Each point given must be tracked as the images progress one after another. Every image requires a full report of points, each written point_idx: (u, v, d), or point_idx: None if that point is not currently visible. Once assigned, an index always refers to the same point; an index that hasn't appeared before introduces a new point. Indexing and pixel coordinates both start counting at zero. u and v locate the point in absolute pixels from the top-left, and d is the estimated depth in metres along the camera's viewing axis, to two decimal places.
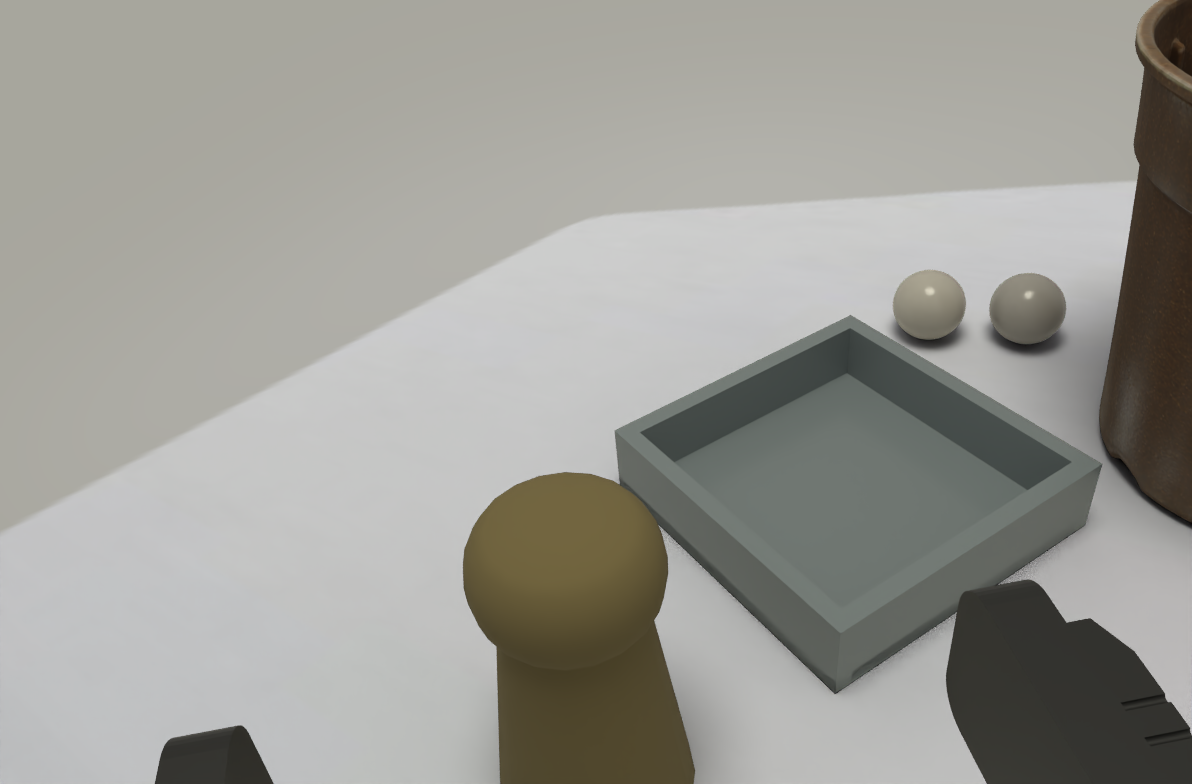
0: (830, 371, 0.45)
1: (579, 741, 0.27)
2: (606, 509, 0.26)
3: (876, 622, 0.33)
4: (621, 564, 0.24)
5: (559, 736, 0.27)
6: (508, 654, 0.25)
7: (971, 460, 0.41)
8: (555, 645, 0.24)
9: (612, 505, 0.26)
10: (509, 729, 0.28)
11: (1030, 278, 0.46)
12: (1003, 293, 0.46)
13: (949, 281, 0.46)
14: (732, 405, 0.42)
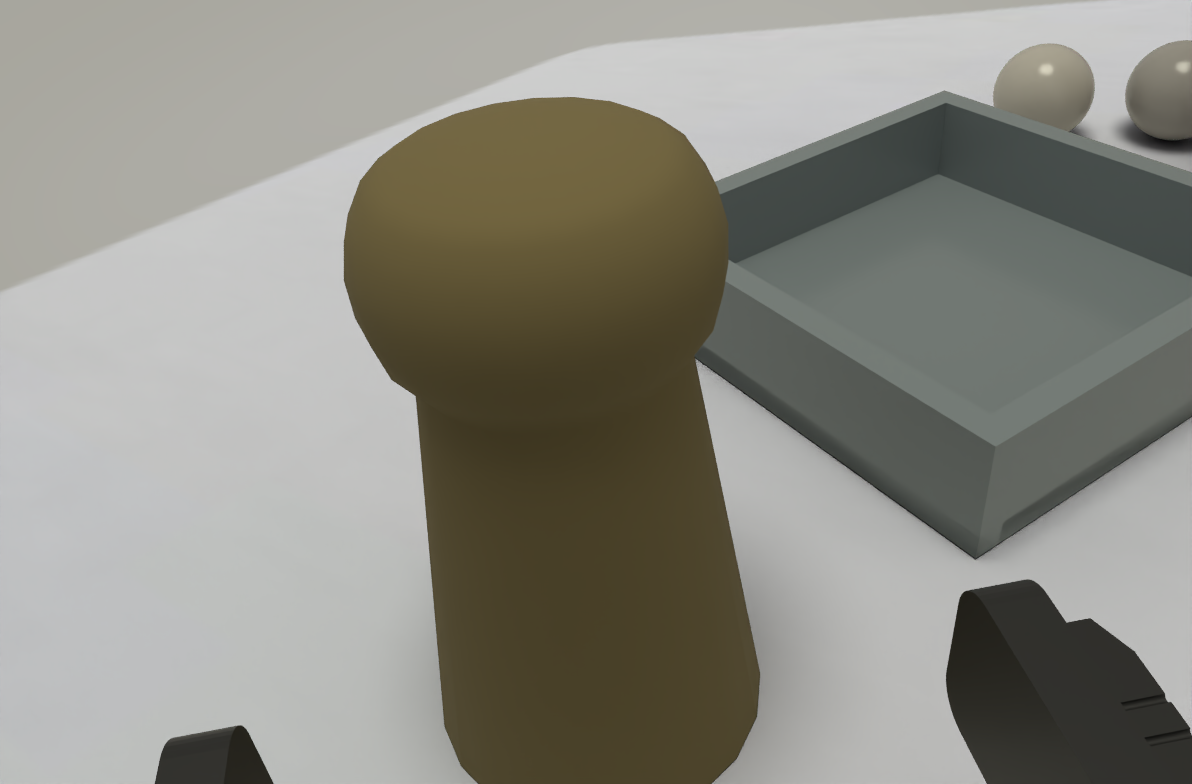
0: (917, 168, 0.33)
1: (567, 585, 0.15)
2: (613, 122, 0.13)
3: (1045, 438, 0.20)
4: (645, 195, 0.12)
5: (529, 577, 0.15)
6: (426, 397, 0.13)
7: (1133, 260, 0.28)
8: (512, 352, 0.12)
9: (624, 119, 0.14)
10: (444, 578, 0.16)
11: (1186, 43, 0.34)
12: (1149, 66, 0.34)
13: (1074, 53, 0.34)
14: (788, 197, 0.30)
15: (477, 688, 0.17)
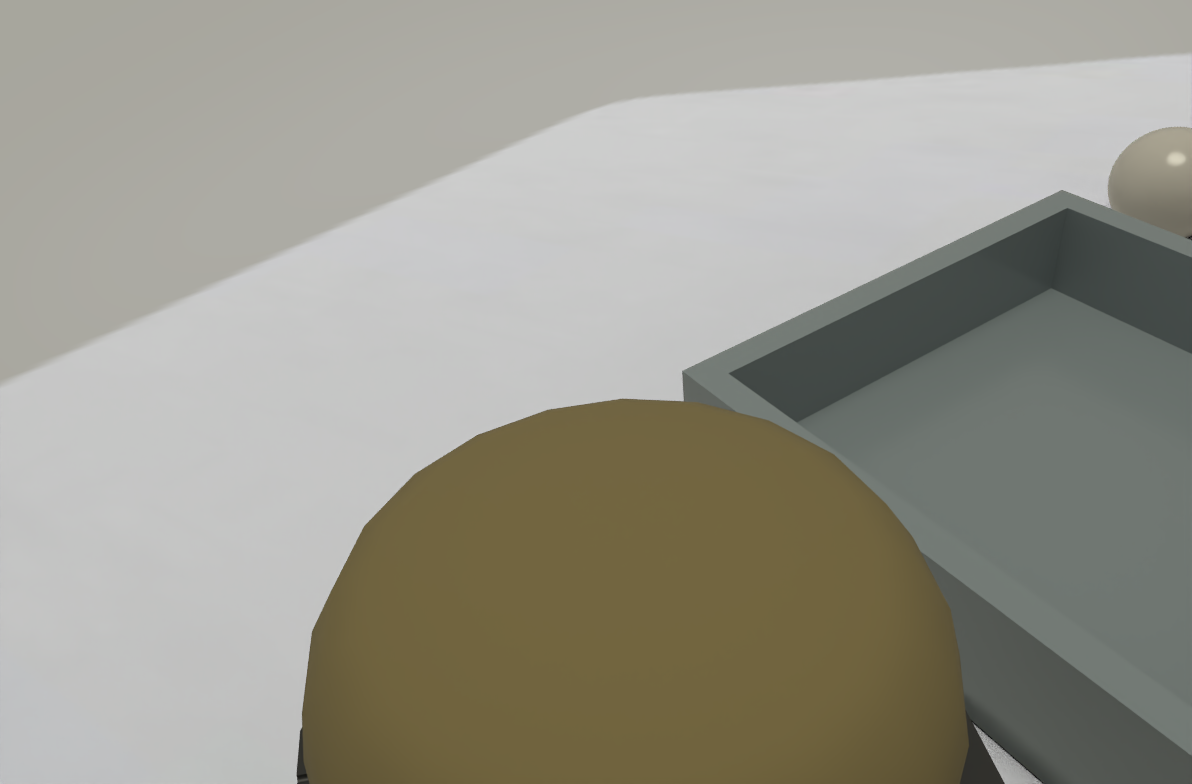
0: (1028, 283, 0.27)
1: None
2: (773, 503, 0.08)
3: None
4: (858, 708, 0.07)
5: None
6: None
7: None
8: None
9: (789, 490, 0.08)
10: None
11: None
12: None
13: None
14: (880, 332, 0.25)
15: None
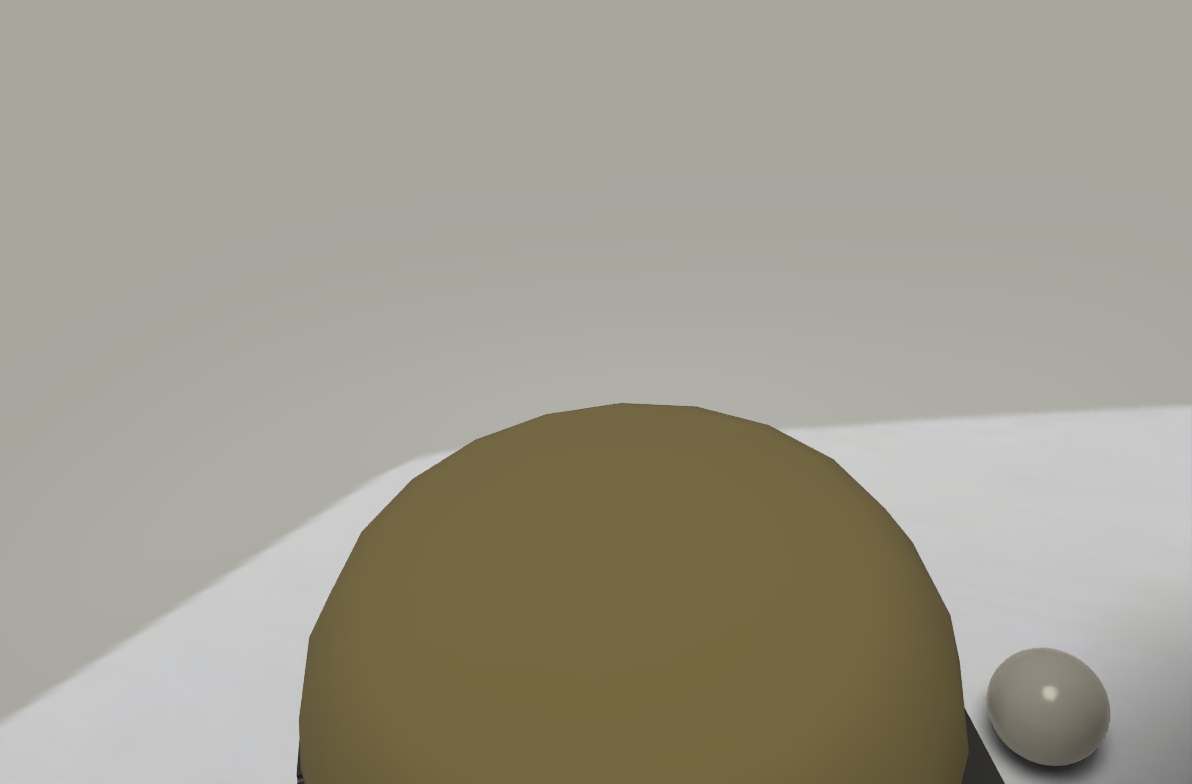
0: None
1: None
2: (772, 509, 0.08)
3: None
4: (859, 716, 0.06)
5: None
6: None
7: None
8: None
9: (788, 496, 0.08)
10: None
11: (1052, 670, 0.28)
12: (1009, 690, 0.29)
13: None
14: None
15: None
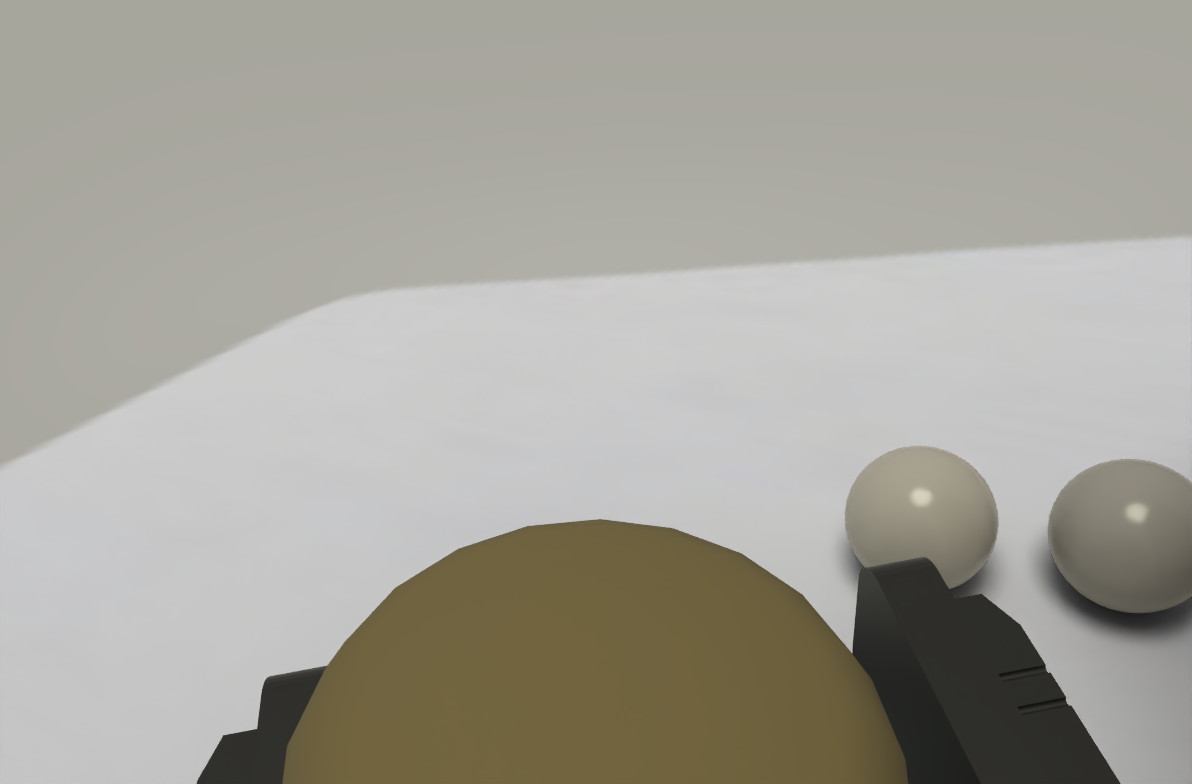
0: None
1: None
2: (746, 652, 0.08)
3: None
4: None
5: None
6: None
7: None
8: None
9: (761, 638, 0.08)
10: None
11: (1141, 478, 0.21)
12: (1081, 509, 0.21)
13: (963, 479, 0.22)
14: None
15: None
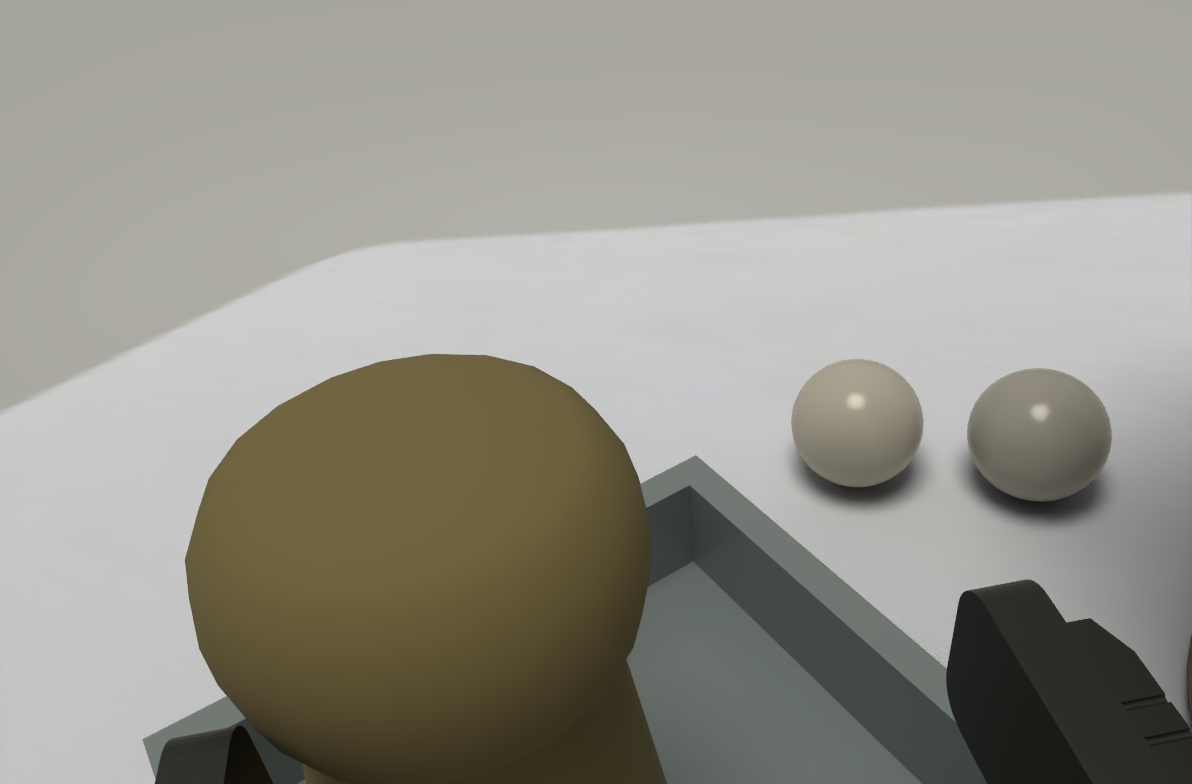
0: (655, 564, 0.23)
1: None
2: (508, 414, 0.11)
3: None
4: (536, 533, 0.10)
5: None
6: (282, 751, 0.11)
7: None
8: (371, 733, 0.10)
9: (523, 406, 0.11)
10: None
11: (1043, 381, 0.24)
12: (992, 408, 0.24)
13: (891, 384, 0.25)
14: None
15: None
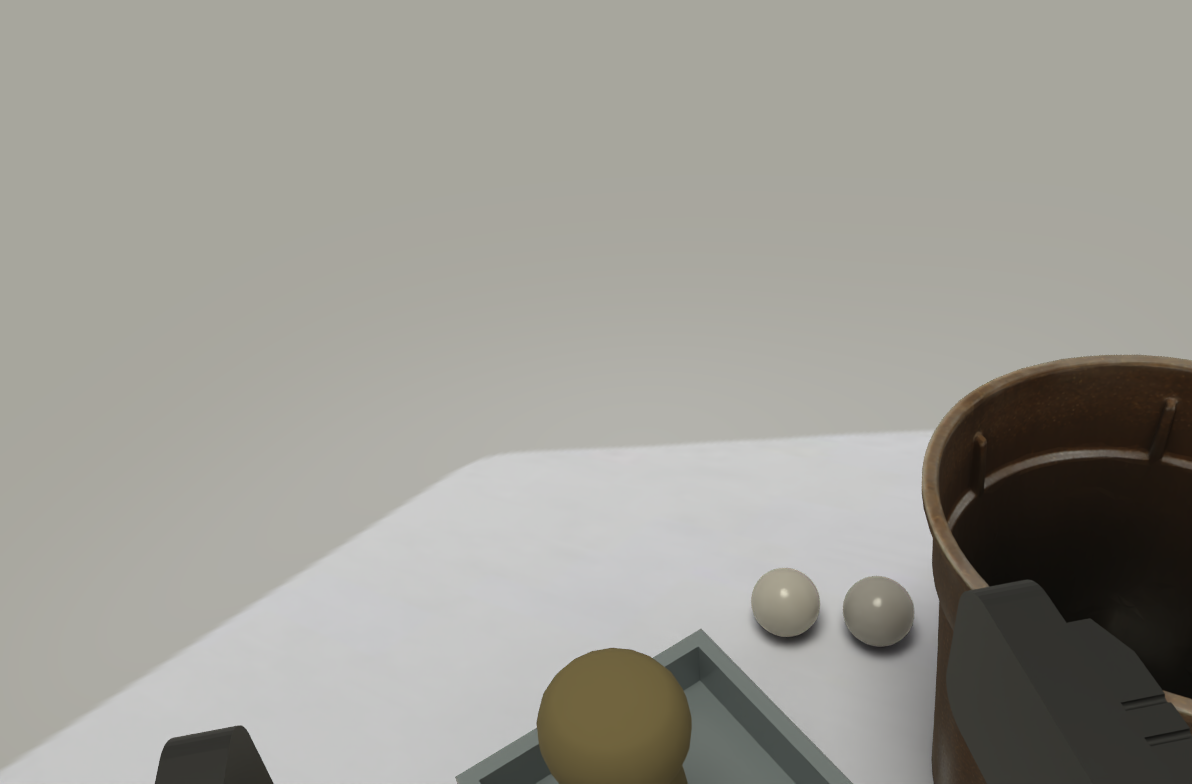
0: (681, 684, 0.46)
1: None
2: (645, 684, 0.34)
3: None
4: (659, 731, 0.33)
5: None
6: None
7: None
8: None
9: (650, 680, 0.34)
10: None
11: (878, 587, 0.47)
12: (853, 600, 0.47)
13: (801, 586, 0.48)
14: None
15: None
